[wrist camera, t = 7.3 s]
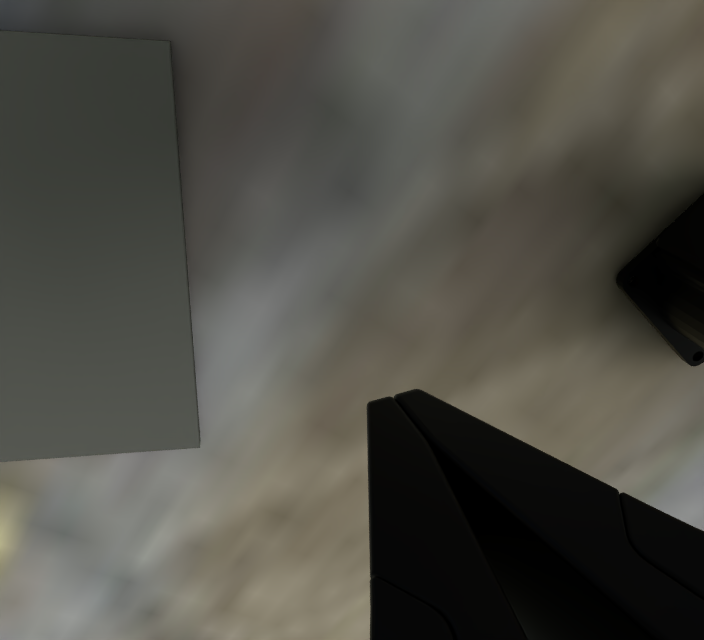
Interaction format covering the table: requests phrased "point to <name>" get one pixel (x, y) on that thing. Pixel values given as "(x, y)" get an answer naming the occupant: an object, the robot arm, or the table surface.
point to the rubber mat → (92, 251)
